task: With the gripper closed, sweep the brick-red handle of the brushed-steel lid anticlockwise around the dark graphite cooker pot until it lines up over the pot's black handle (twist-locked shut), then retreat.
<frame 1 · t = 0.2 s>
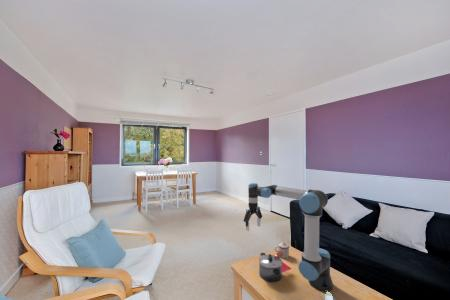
hand: (253, 228, 164), 28 cm above the table, fingers open, 13 cm apart
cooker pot: (270, 274, 147), on the table
lid: (272, 258, 149), point 11 cm above the table, hinge at -60.0°
teacup with lid: (281, 255, 174), on the table
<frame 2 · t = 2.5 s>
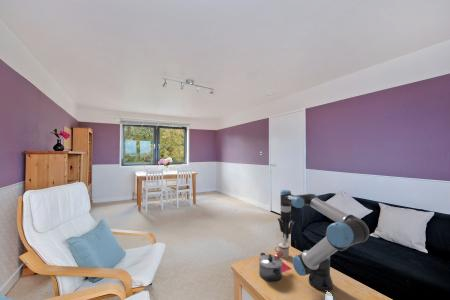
hand: (285, 242, 150), 22 cm above the table, fingers closed
nothing on the table moved.
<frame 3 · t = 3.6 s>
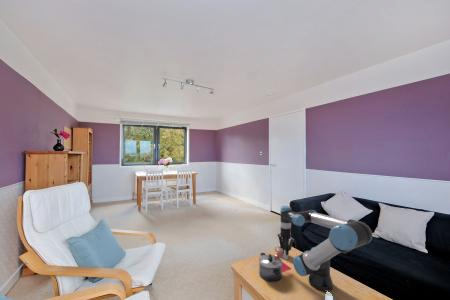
hand: (285, 258, 150), 10 cm above the table, fingers closed
nothing on the table moved.
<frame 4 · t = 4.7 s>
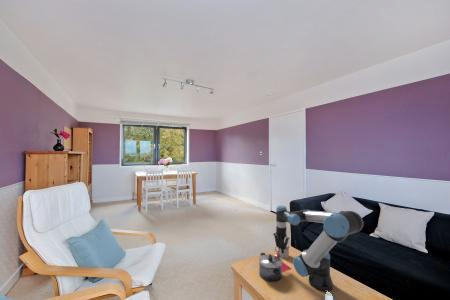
hand: (281, 256, 153), 10 cm above the table, fingers closed
lid: (272, 258, 149), point 11 cm above the table, hinge at -59.6°, touching gripper
everything else where it was.
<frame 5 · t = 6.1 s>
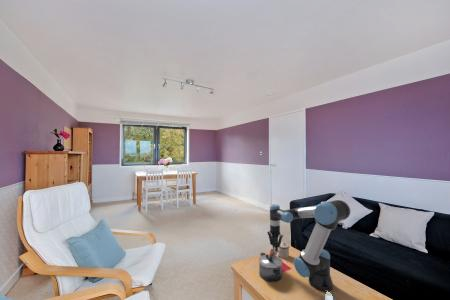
hand: (275, 254, 157), 9 cm above the table, fingers closed
lid: (270, 257, 150), point 11 cm above the table, hinge at -31.6°, touching gripper
everything else where it was.
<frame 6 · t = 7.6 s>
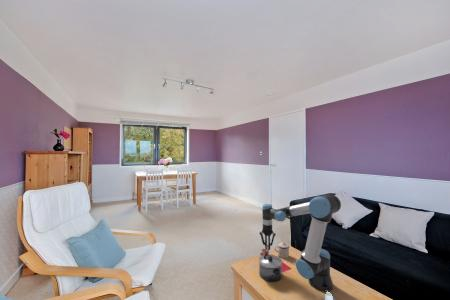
hand: (267, 253, 159), 9 cm above the table, fingers closed
lid: (268, 257, 150), point 11 cm above the table, hinge at -3.6°, touching gripper
everything else where it was.
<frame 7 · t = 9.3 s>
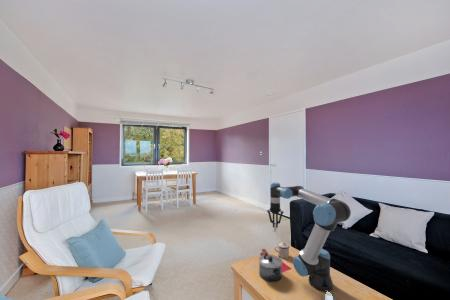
hand: (275, 231, 160), 26 cm above the table, fingers closed
lid: (268, 257, 150), point 11 cm above the table, hinge at -3.5°
everything else where it was.
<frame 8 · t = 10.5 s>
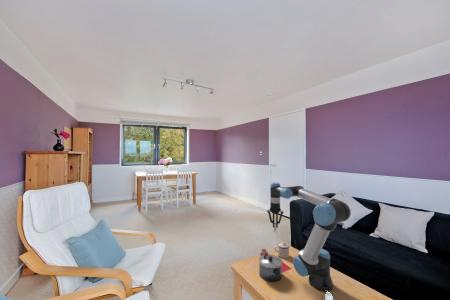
hand: (275, 231, 160), 26 cm above the table, fingers closed
nothing on the table moved.
at the end: lid at -4° (first picture: -60°) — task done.
